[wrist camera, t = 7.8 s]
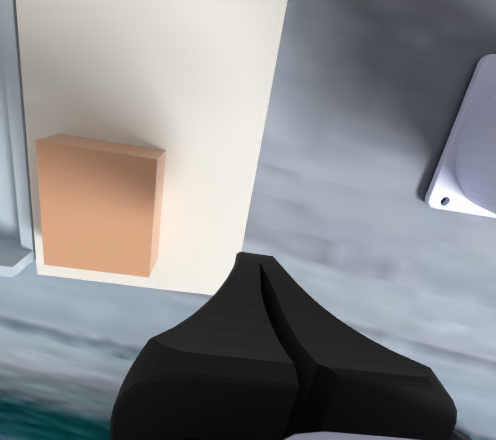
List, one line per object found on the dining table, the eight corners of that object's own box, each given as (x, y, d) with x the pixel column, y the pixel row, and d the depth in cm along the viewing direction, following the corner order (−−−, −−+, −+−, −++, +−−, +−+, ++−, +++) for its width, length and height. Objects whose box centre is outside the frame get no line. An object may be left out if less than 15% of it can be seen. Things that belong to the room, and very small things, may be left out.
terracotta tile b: (166, 150, 16) (157, 159, 14) (157, 258, 18) (149, 277, 16) (59, 133, 15) (35, 140, 14) (63, 245, 18) (44, 264, 16)
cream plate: (319, -197, 13) (330, -232, 11) (232, 283, 21) (232, 297, 19) (19, -282, 12) (-11, -333, 10) (51, 260, 20) (37, 274, 18)
